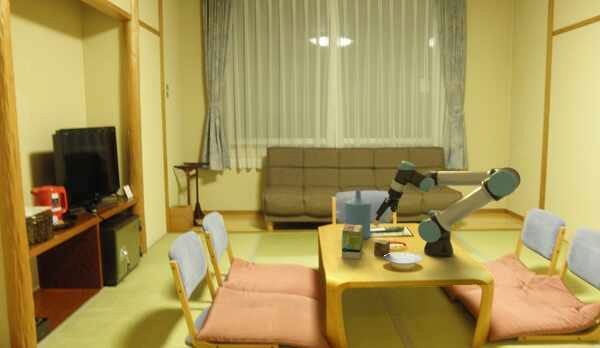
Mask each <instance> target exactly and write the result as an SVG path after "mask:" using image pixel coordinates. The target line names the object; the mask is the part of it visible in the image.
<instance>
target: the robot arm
mask: <svg viewBox="0 0 600 348" xmlns="http://www.w3.org/2000/svg"><path fill="white" fill-rule="evenodd" d="M391 181H392V182H391V184H390V187H389V188H388V191H387V194H388V197H385V198H384V199H383V202H382V203H381V205H380V206H379V208H378V209H377V210H376V212H375V213H376V216H375V218H374V220H373V223H372V225H374V226H375V227H376V228H378V227H379V224H380V222H381V221H382V218H383V215H384V214H385V212H386V211H387V210H388V209H389V208H390V209H389V210H388V212H387V214H386V215H385V216H386V217H385V219H384V221H385V222H387V223H388V224H389V223H390V222H391V219H392V217H393V215H394V213H395V214H396V213H397V210H398V207H399V202H400V199H401V198H403V194H404V192H405V191H406V188H407V186H408V184H409V185H412V186H413V187H415V188H417V189H419V191H422V192H425V193H427V194H428V193H430V192H431V191H432V189H433V188H434V186H447V187H449V186H451V187H452V186H454V187H455V186H458V187H460V186H461V187H462V186H463V187H465V186H466V187H467V186H469V187H471V186H473V187H477V188H475V189H474V190H473V191H471V192H470V193H468V194H466V195H465V196H463V197H462V198H461V199H460V200H458V201H456V202H454V203H453V204H452V205H450V206H449V207H447V208H446V209H444V210H438V209H437V210H429V211H428V214H427V215H428V217H426V218H425V219H423V220H421V222H420V223H419V225H418V227H417V233H418V235H419V237H420V238H421V239H422V241H424V242H426V243H425V244H424V246H423V247H424V248H423V253H424V254H425V255H427V256H430V257H433V258H434V257H435V258H448V257H452V256H454V248H453V244H452V241H451V238H452V236H451V235H452V234H451V233H452V228H453V227H454V226H455V225H457V224H458V223H460V222H461V221H463V220H464V219H466V218H468V217H469V216H470V215H472V214H474V213H475V212H477V211H478V210H481V208H484V207H485V206H487V205H488V204H489V203H491V202H499V201H500V200H502V199H503V198H505V197H507V196H509V195H511V194H513V193H514V192H515V190H516V189H517V188H519V186H520V185H521V176H520V173H519V171H518V170H516V169H514V168H512V167H508V166H507V167H499V168H497V167H496V168H490V169H489V170H451V171H450V170H446V171H445V170H444V171H443V170H442V171H441V170H440V171H435V170H427V171H425V172H423V173H421V172H420V171H417V170H416V164H414V163H412V162H410V161H407V160H403V161H401V163H400V165H399V166H398V168H397V171H396V173H395V176H394V178H393V179H392V180H391Z"/></svg>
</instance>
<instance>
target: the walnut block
mask: <svg viewBox="0 0 600 348" xmlns="http://www.w3.org/2000/svg"><path fill="white" fill-rule="evenodd" d="M390 248H391V241H390V240H386V239H385V240H384V239H377V240H376V241H374V256H379V257H383V256H384V255H386V254H388V253H391V249H390Z"/></svg>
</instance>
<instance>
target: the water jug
mask: <svg viewBox="0 0 600 348" xmlns="http://www.w3.org/2000/svg"><path fill="white" fill-rule="evenodd" d="M361 192H362V190H360V189H357V190H355V197H353V198H350V199H349V200H345V202H344V204H345V205H344V225H345V224H350V225H363V240H364V239H365V240H366V239H369V238H370V237H371V235H372V232H371V223H372V219H371V218H372V217H371V216H372V215H371V213H372V202H371V201H369V200H367V199H365V198H363V197H362V196H361V195H362V194H361Z"/></svg>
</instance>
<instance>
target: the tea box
mask: <svg viewBox="0 0 600 348" xmlns="http://www.w3.org/2000/svg"><path fill="white" fill-rule="evenodd" d="M341 235H342V237H341V240H342V241H341V258H344V259H356V260H358V259H359V260H360V259H361V256H362V253H363V245H364V243H363V240H364V239H363V225H350V224H345V223H344V227H343V229H342V233H341Z"/></svg>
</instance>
